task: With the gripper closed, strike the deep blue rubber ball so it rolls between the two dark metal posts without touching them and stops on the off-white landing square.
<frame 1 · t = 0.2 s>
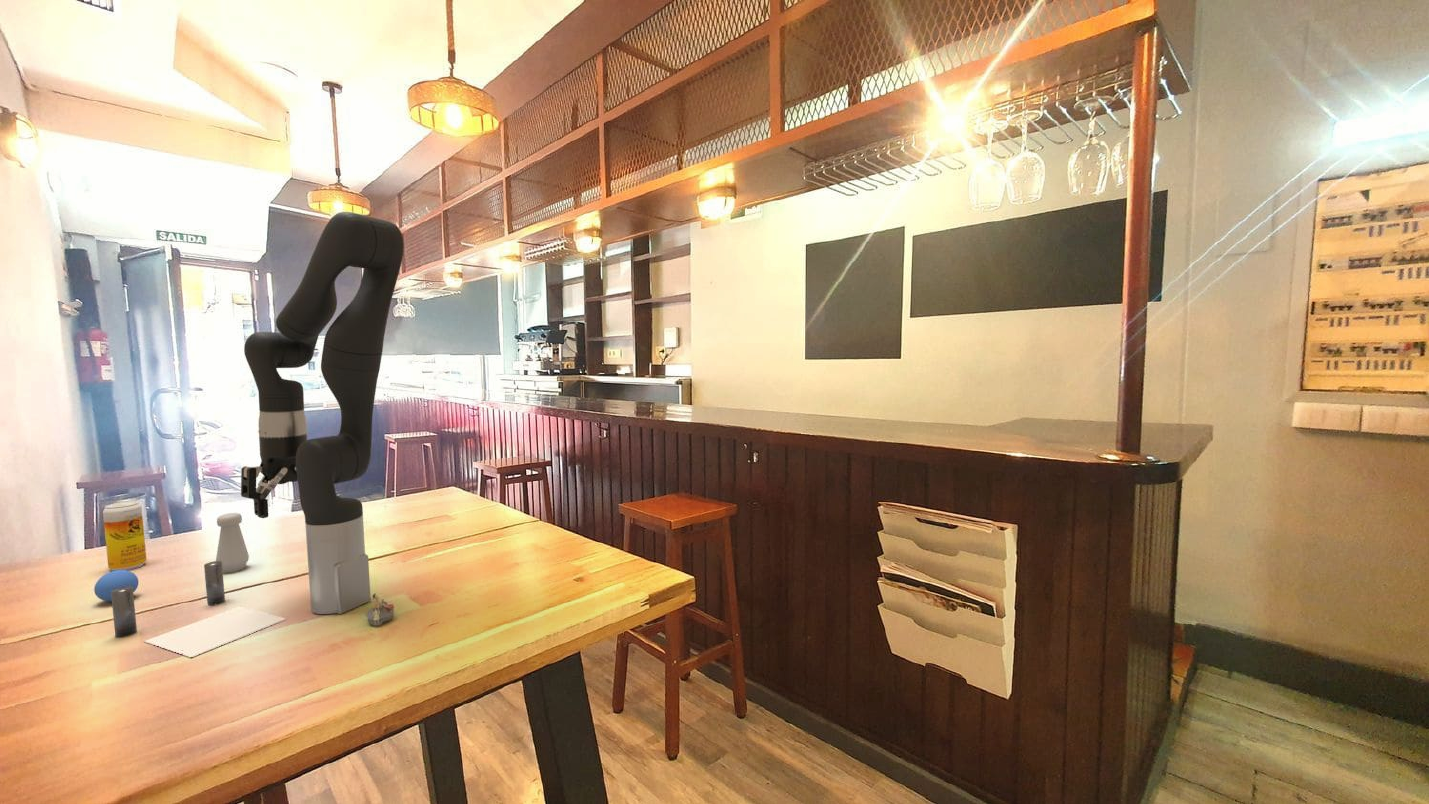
hand: (287, 511, 111), 17 cm above the table, tool pointing down, fingers open, 8 cm apart
ball: (116, 585, 110), on the table
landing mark: (217, 630, 97), on the table
left post: (126, 633, 96), on the table
right post: (216, 602, 109), on the table
beer can: (128, 568, 127), on the table
salt shaker: (233, 570, 126), on the table
figurine: (380, 622, 101), on the table
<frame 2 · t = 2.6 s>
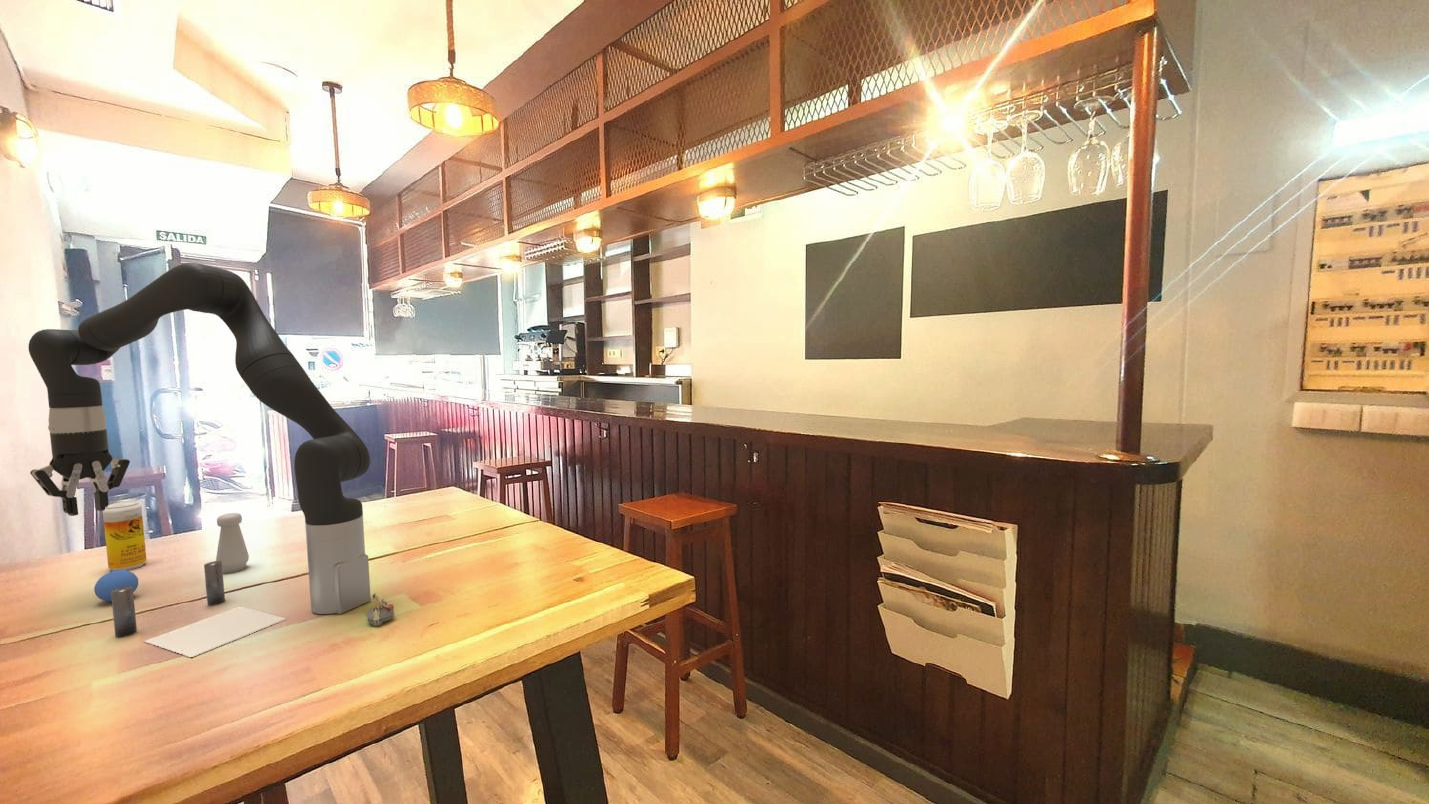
hand: (87, 512, 112), 17 cm above the table, tool pointing down, fingers open, 3 cm apart
nothing on the table moved.
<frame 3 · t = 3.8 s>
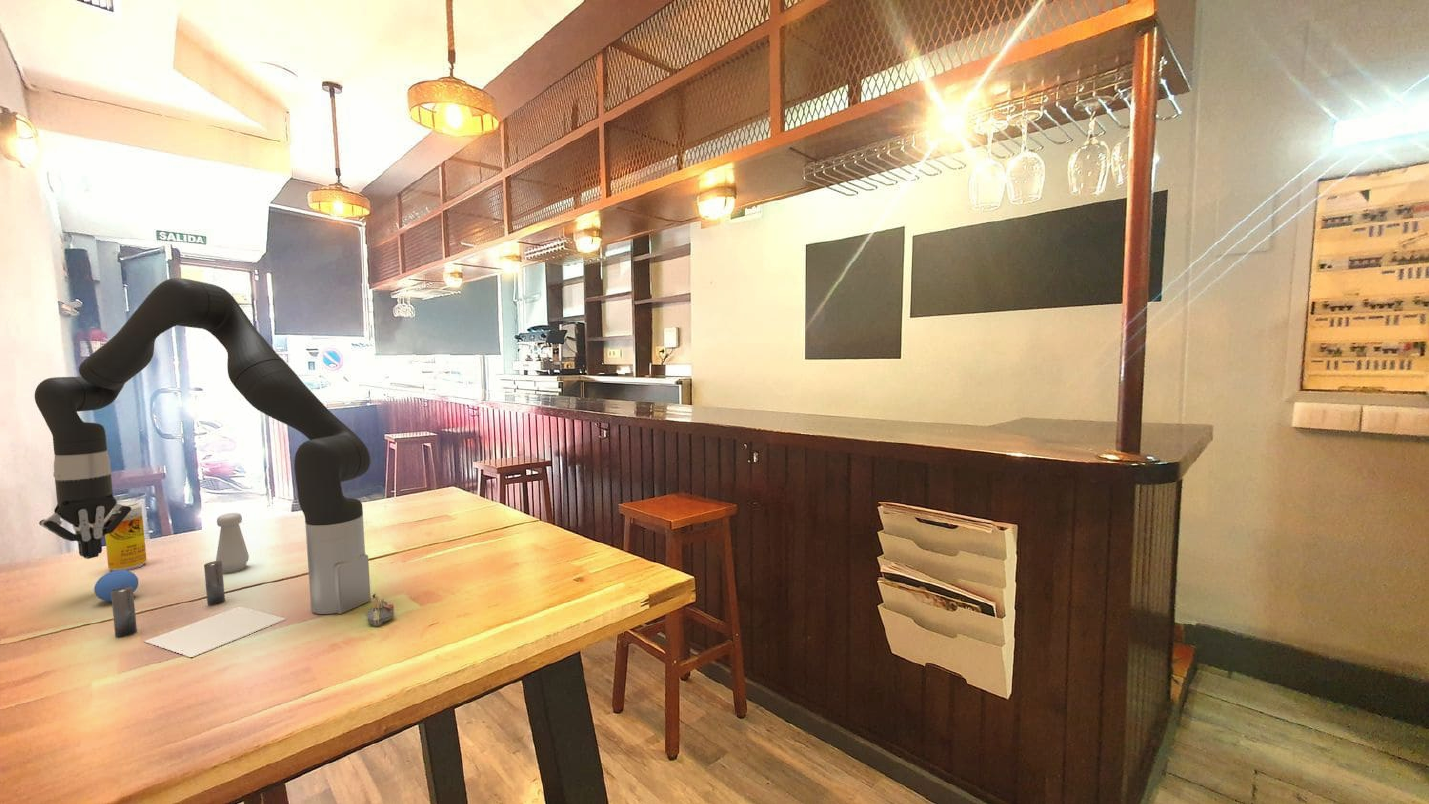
hand: (91, 557, 113), 8 cm above the table, tool pointing down, fingers closed
nothing on the table moved.
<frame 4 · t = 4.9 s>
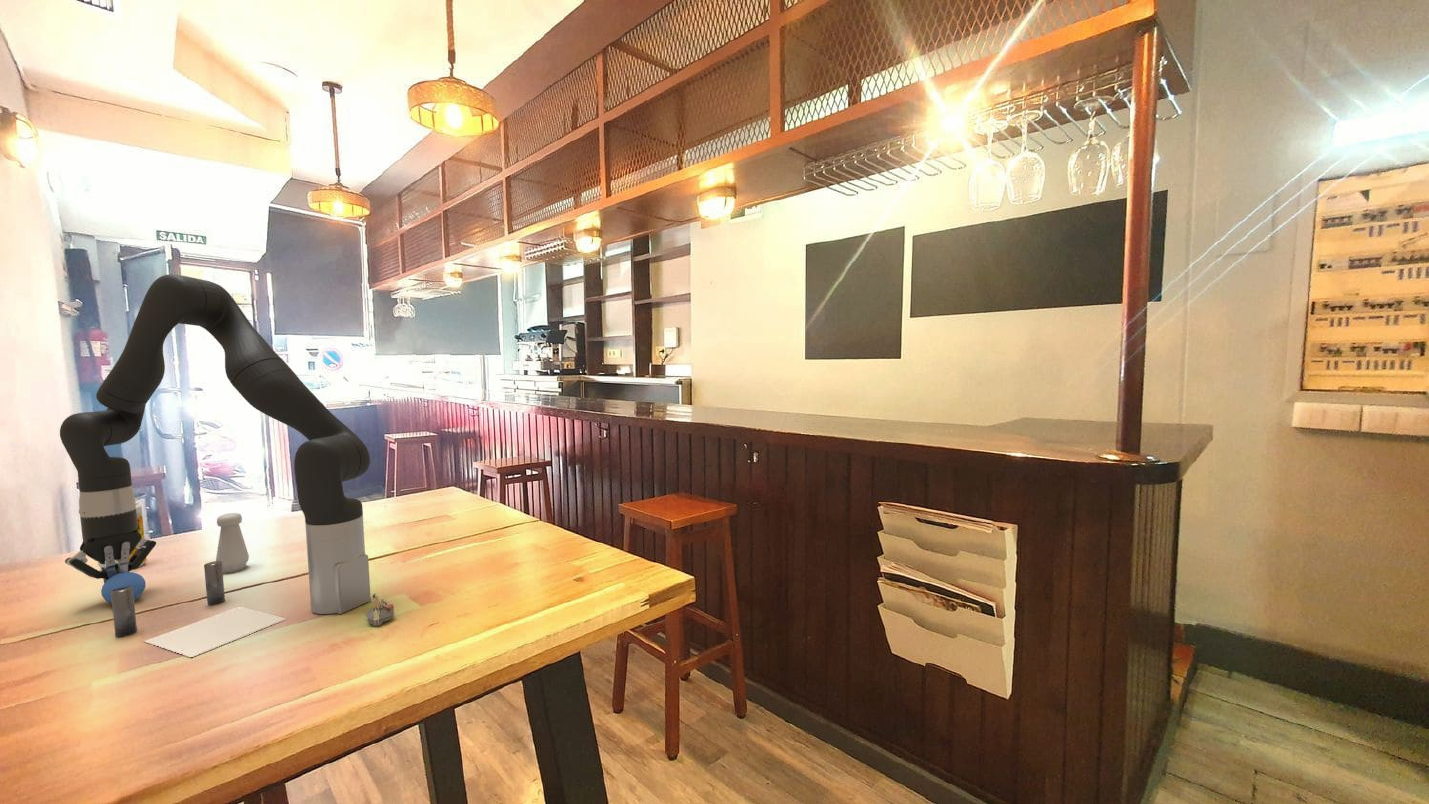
hand: (117, 593, 111), 1 cm above the table, tool pointing down, fingers closed
ball: (123, 587, 109), on the table, touching gripper
everything else where it was.
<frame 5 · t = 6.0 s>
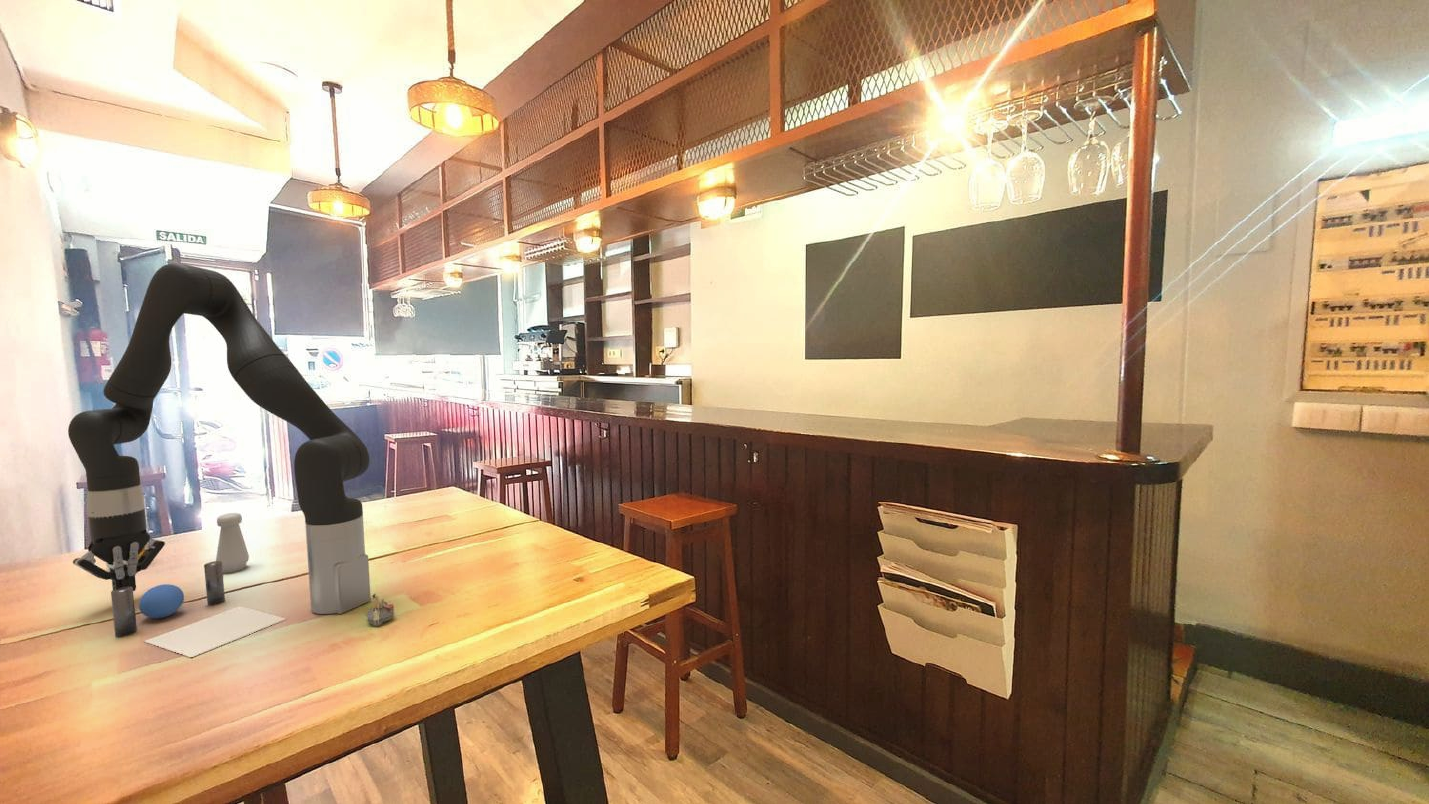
hand: (125, 595, 109), 2 cm above the table, tool pointing down, fingers closed
ball: (161, 601, 103), on the table
everything else where it was.
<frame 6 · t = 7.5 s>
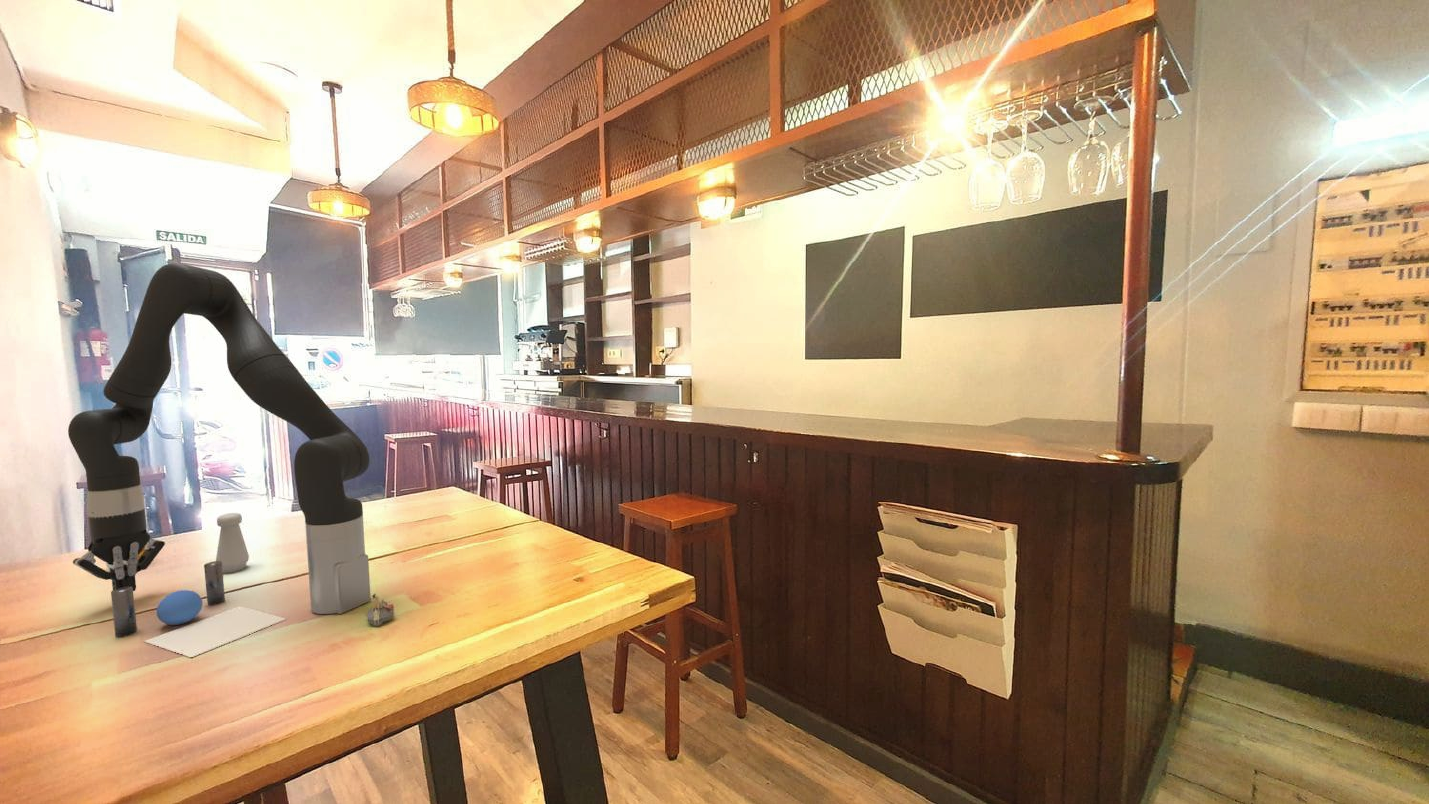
hand: (125, 595, 109), 2 cm above the table, tool pointing down, fingers closed
ball: (179, 607, 100), on the table
everything else where it was.
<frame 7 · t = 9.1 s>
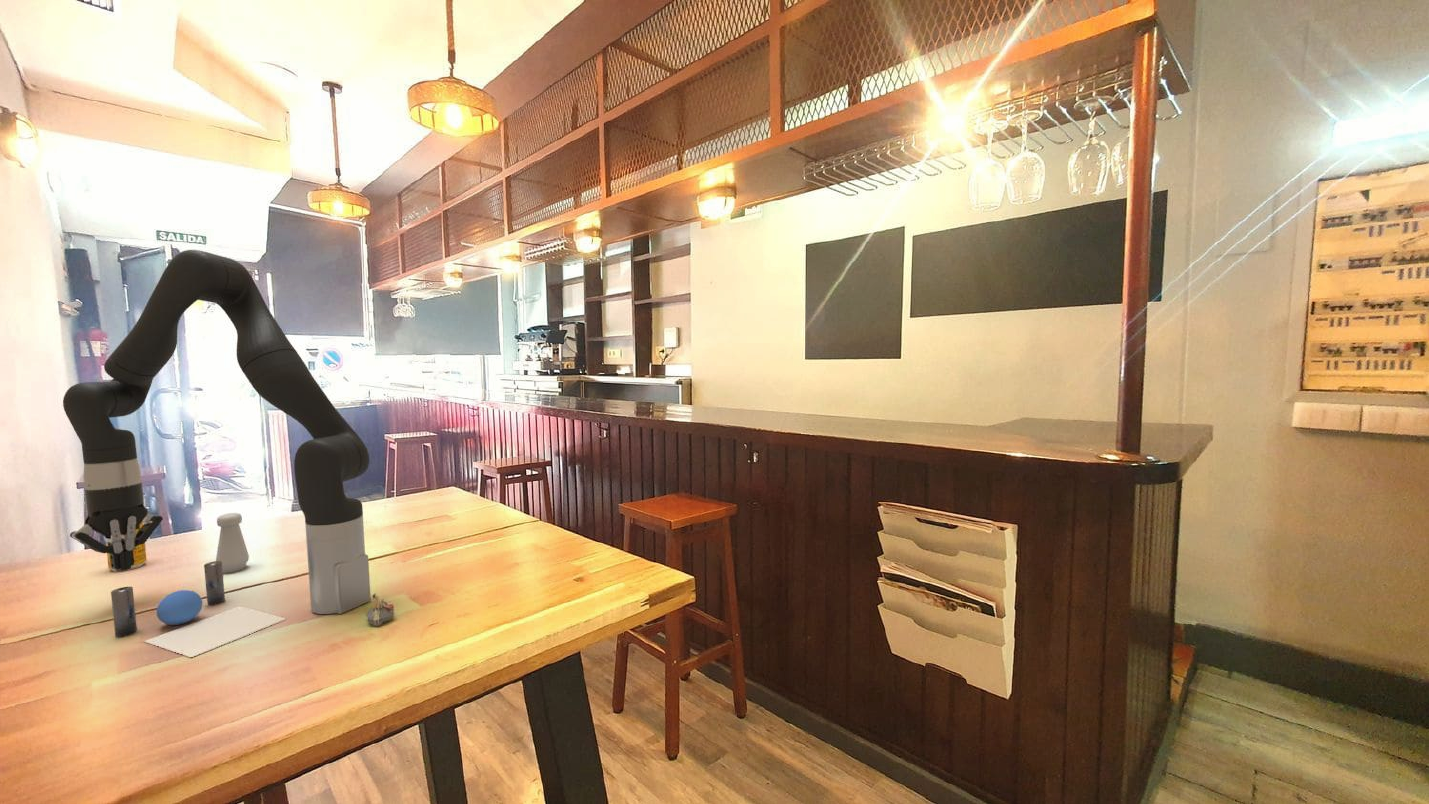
hand: (123, 569, 108), 7 cm above the table, tool pointing down, fingers closed
nothing on the table moved.
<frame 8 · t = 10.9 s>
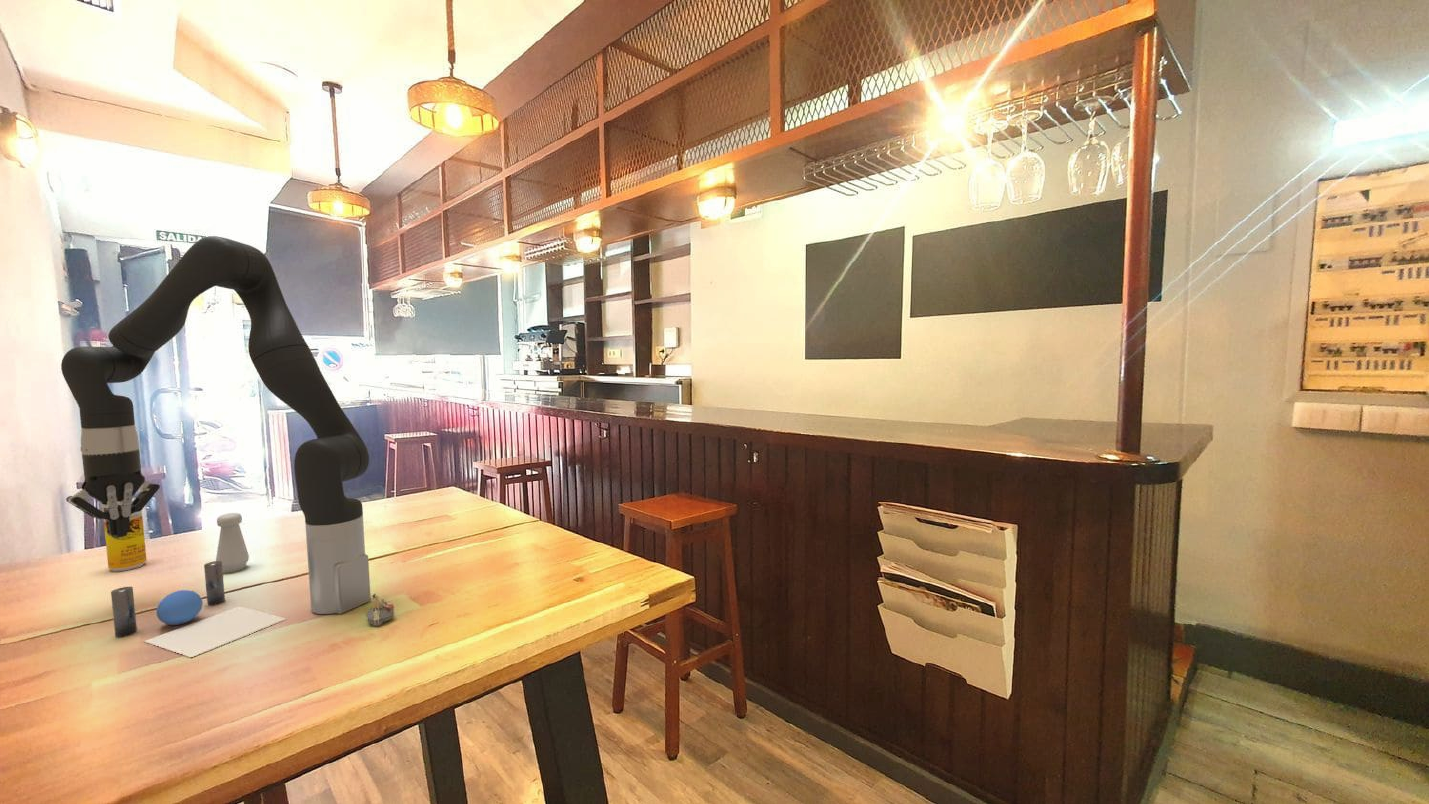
hand: (119, 536, 108), 13 cm above the table, tool pointing down, fingers closed
nothing on the table moved.
at the end: ball 9.7 cm from the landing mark (horizontally); ball never touched left post; ball never touched right post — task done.
